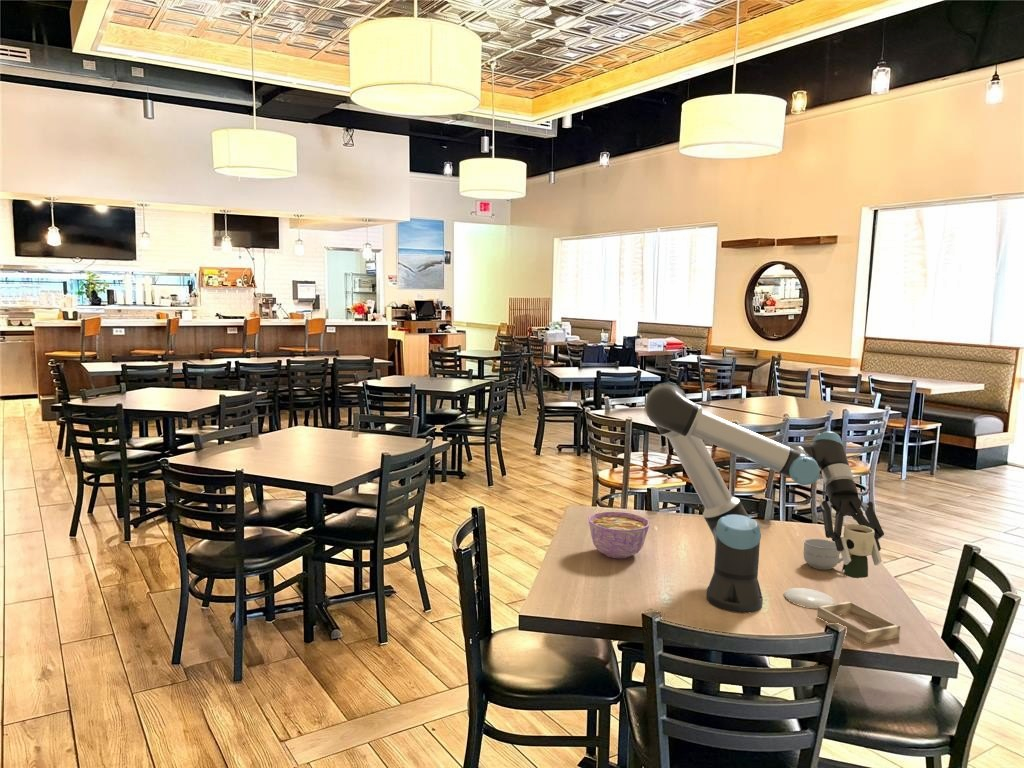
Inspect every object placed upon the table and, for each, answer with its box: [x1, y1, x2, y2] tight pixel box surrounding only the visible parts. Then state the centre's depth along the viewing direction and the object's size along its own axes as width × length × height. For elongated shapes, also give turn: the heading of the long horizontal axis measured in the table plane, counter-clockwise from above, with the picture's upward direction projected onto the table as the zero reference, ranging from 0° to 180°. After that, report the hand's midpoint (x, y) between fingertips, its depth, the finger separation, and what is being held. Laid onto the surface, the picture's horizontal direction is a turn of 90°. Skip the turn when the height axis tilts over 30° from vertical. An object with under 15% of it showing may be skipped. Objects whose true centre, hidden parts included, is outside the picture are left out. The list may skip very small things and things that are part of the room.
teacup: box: [803, 538, 843, 571], centre depth 226 cm, size 14×11×8 cm
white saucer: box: [783, 587, 835, 610], centre depth 201 cm, size 13×13×1 cm
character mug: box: [841, 523, 875, 579], centre depth 185 cm, size 11×7×13 cm, turn 178°
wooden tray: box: [816, 600, 901, 644], centre depth 184 cm, size 12×16×3 cm
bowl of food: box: [588, 511, 650, 559], centre depth 232 cm, size 20×20×12 cm
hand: (862, 562), depth 181 cm, fingers closed on character mug, 7 cm apart
